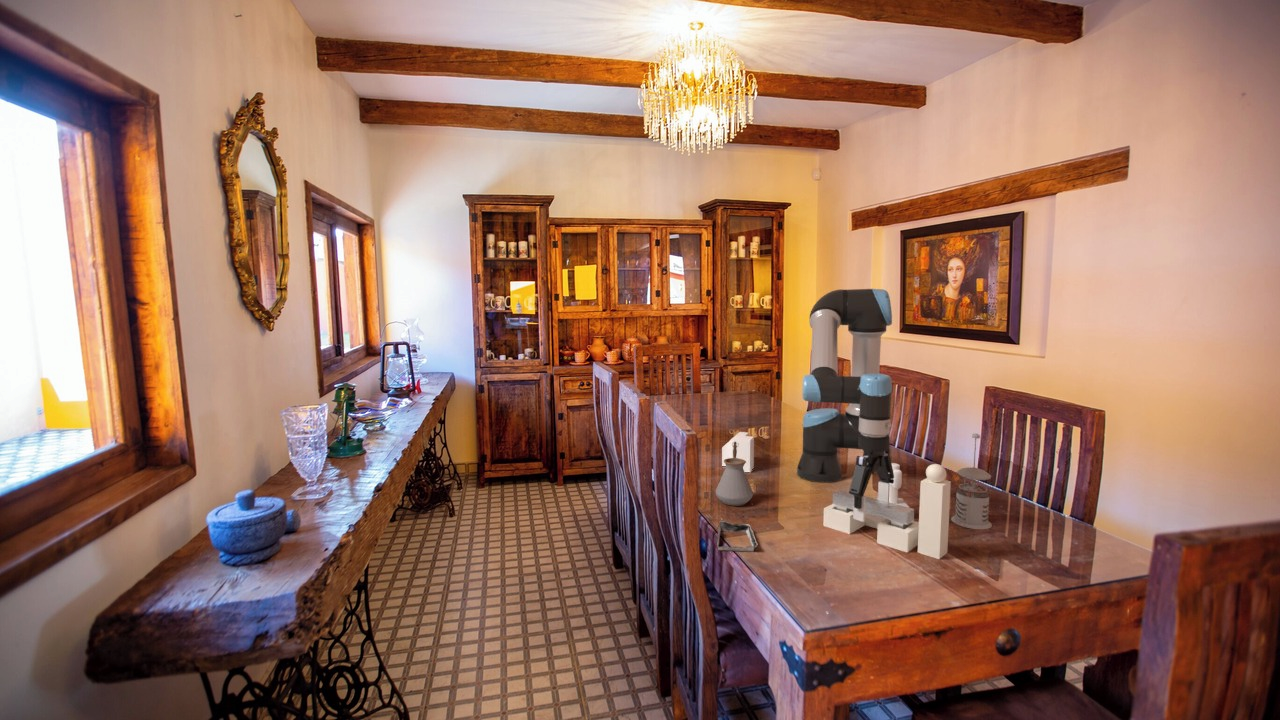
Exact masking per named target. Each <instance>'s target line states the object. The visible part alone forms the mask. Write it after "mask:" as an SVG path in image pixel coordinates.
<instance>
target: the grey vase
mask: <svg viewBox="0 0 1280 720" xmlns="http://www.w3.org/2000/svg"><path fill="white" fill-rule="evenodd" d="M732 444H733V443H732ZM732 446H733V447H734V449H733V458H728V459H725V460H724V463H725V464H726V467H724V471H723V474H722V475H721V478H720V480H719V482H718V485H717V487H716V489H715V492H714V493H715V495H716V497H717V498H718V500H720V501H721V503H723V504H725V505H727V506H732V507H733V506H734V507H736V506H737V507H738V506H740V507H741V506H744V505H746V504H747V503H748V502H749V501H751V499H752V498H753V496H754V491H753V489H752V487H751V484H750V481H749V479H748V477H747V475H746V474H747V473H745V472H744V470H743V466H744V464H745V463H746V461H745V460H743V459H739V458H736V454H737V449H736V448H737V446H736V442H734V445H732ZM738 446H739V444H738Z"/></svg>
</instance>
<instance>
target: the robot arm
mask: <svg viewBox="0 0 1280 720" xmlns="http://www.w3.org/2000/svg"><path fill="white" fill-rule="evenodd" d="M808 323H809V326H810V328H811V332H812V333H811V353H810V374H806V375H804V376H803V377H802V378H803V379H802V399H803V400H804V401H805V402H813V403H818V404H819V403H826V404H827V403H830V404H831V403H832V404H833V403H834V404H849V405H848V406H847V407H846V408H845V413H840V412H839V410H838V408H830V407H829V408H828V407H827V408H823V407H822V408H816V409H812V410H808V411H806V412H805V413H804V415H803V419H802V421H803V422H802V428H803V429H802V452H801V455H800V459H799V461H798V464H797V468H796V475H797V476H798V477H799V478H801V479H803V480H807V481H811V482H818V483H832V482H833V483H834V482H837V481H840V480H842V479H843V469H842V465H841V461H840V459H839V456H838V451H839V450H838V448H839V449H849V450H850V449H852V450H855V449H856V450H862V451H863V452H862V453H863V454H862V455H861V456H860V455H857V456H856V459H855V467H854V471H853V474H852V477H851V478H852V480H851V482H850V487H849V490H848V492H849V494H852V495H854V510H853V519H856V520H859V521H863V522H864V521H865V514H866V513H865V499H866V497H867V496H866V495H865V492H866V490H867V487H868V484H869V482H870V479H871V478H872V477H871V476H872V475H873V474H875V471H876V474H877V475H878V477H879V481H878V487H877V489H878V491H877V497H878V500H881V501H885V502H889V489H890V484H889V483H892V484H893V483H894V480H893V479H894V473H893V468H892V464H891V463H892V461H891V459H892V458H891V456H890V454H891V453H890V452H891V449H890V443H891V442H890V441H891V439H890V438H891V436H890V435H889V434H890V433H891V427H892V423H891V410H892V409H891V408H892V407H891V405H892V392H893V385H892V377H891V376H890V375H888V374H884V373H880V369H881V367H880V366H881V364H880V363H881V346H882V345H881V344H882V341H881V340H882V336H883V335H884V334H885V333H887V327H889V326H892V324H893V313H892V305H891V299H890V294H889V292H888V291H887V290H886V289H882V288H881V289H880V288H861V289H859V288H858V289H857V288H856V289H855V288H854V289H852V288H851V289H843V288H842V289H834V290H831V291H830V292H827V293H825V294H824V295H823V296H821V297H820V298H819V299H818V300H817V301H816V302H815V304H814V305H813V306H812V308H811V310H810V313H809V322H808ZM840 326H847V331H848V332H849V334H851V335H852V349H851V350H852V353H851V376H848V375H846V376H845V375H838V374H839V372H838V368H839V366H838V365H839V364H838V362H839V361H838V355H839V354H838V352H839V351H838V329H839V328H840ZM889 473H890V474H889Z"/></svg>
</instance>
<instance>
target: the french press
mask: <svg viewBox="0 0 1280 720" xmlns="http://www.w3.org/2000/svg"><path fill="white" fill-rule="evenodd" d="M980 437H981V435H980V434H979V433H972V436H971V438H973V439H974V454H973V455H974V456H973V467H963V468H960V469H958V470H957V471H956V474H957V475H958V476H961V477H963V478H964V483H961V484H958V486H957V487H958V489H957V490H956V498H955V499H956V500H955V515H953V516H952V517H951V519H950V520H951V521H952V522H953V524H955V525H958V526H961V527H963V528H967V529H971V530H972V529H973V530H989V529H991V528H992V526H993V525H992V523H991V522H990V521H989V509H990V494H988V492H989V489H988V488H987V487H984V486H982V485H979V484H975V480H976V481H988V480H990V479H991V478H992V475H991V474H990V473H988V472H987V471H986V470H984V469H981V468H979V467H976V450H977V447H976V446H977V439H981V438H980ZM967 480H970V483H966V481H967ZM969 494H970V495H971V497H969Z"/></svg>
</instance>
